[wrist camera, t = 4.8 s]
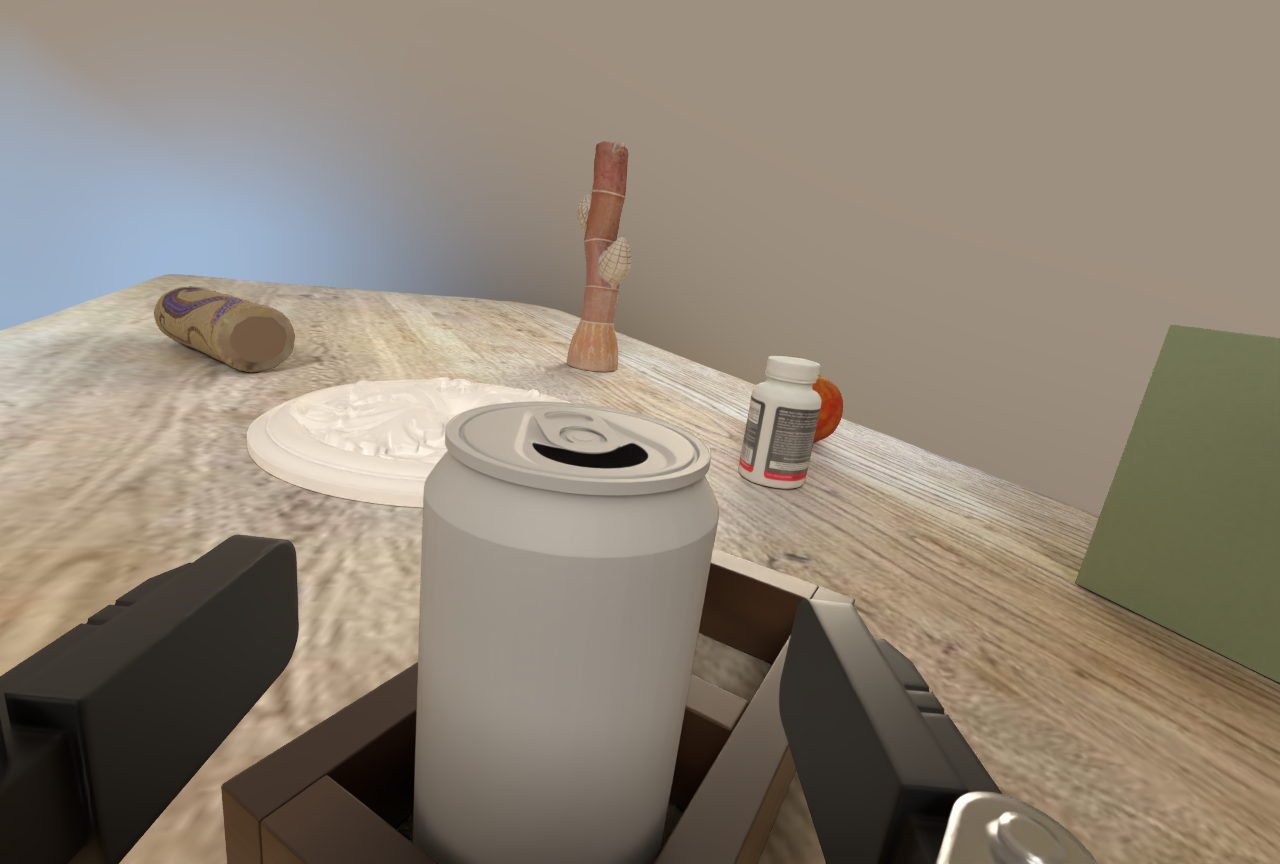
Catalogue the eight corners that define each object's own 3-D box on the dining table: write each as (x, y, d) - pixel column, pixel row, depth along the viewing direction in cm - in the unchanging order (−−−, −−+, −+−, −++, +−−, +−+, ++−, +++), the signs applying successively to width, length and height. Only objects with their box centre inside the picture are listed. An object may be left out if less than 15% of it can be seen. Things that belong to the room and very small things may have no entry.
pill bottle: (812, 479, 50) (837, 364, 47) (792, 496, 46) (818, 370, 43) (751, 462, 53) (772, 351, 50) (727, 476, 48) (748, 355, 45)
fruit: (810, 455, 57) (828, 373, 55) (751, 434, 62) (766, 357, 60) (847, 447, 62) (865, 371, 59) (790, 428, 66) (805, 357, 64)
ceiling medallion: (448, 381, 67) (450, 353, 66) (678, 443, 55) (683, 409, 54) (158, 428, 42) (154, 384, 41) (462, 555, 31) (465, 498, 30)
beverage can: (418, 1044, 12) (441, 491, 9) (405, 784, 18) (416, 387, 14) (696, 938, 15) (793, 480, 11) (608, 741, 20) (656, 396, 17)
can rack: (837, 670, 26) (855, 598, 25) (584, 1281, 10) (610, 1143, 9) (632, 585, 30) (641, 521, 29) (228, 902, 14) (219, 784, 13)
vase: (624, 374, 85) (653, 143, 77) (574, 371, 82) (598, 131, 74) (602, 359, 94) (625, 152, 86) (556, 356, 91) (576, 142, 83)
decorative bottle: (301, 371, 63) (299, 306, 61) (218, 376, 57) (212, 305, 55) (205, 328, 77) (201, 275, 75) (131, 330, 71) (124, 272, 69)
